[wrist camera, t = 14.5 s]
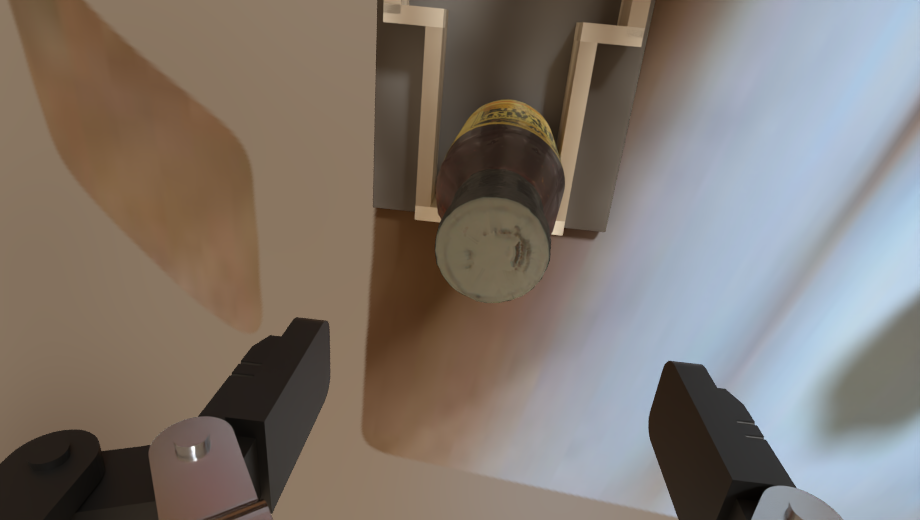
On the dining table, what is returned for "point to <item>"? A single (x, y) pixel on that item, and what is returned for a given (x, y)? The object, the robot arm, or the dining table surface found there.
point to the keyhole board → (506, 90)
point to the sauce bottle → (498, 202)
